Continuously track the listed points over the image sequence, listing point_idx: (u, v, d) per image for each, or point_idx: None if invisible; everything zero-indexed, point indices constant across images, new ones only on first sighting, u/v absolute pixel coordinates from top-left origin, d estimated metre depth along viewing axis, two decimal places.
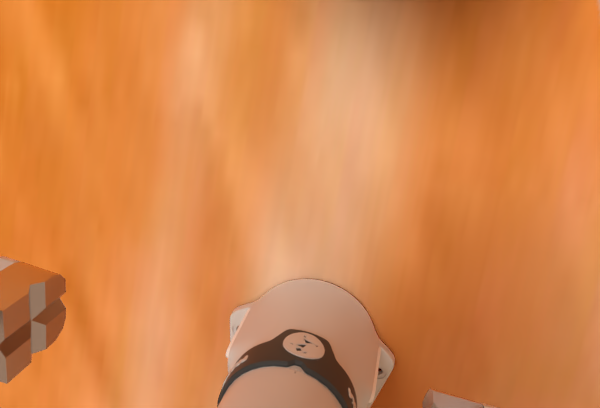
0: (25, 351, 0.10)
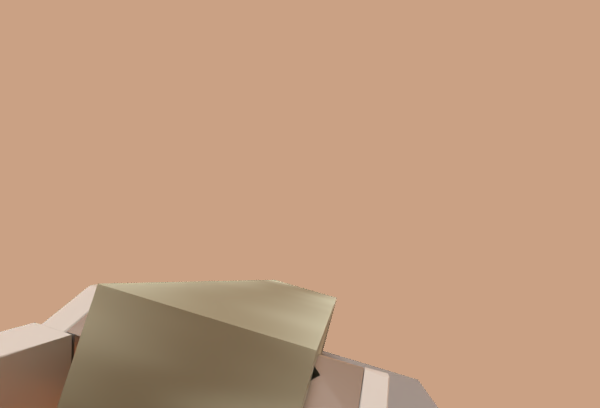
0: None
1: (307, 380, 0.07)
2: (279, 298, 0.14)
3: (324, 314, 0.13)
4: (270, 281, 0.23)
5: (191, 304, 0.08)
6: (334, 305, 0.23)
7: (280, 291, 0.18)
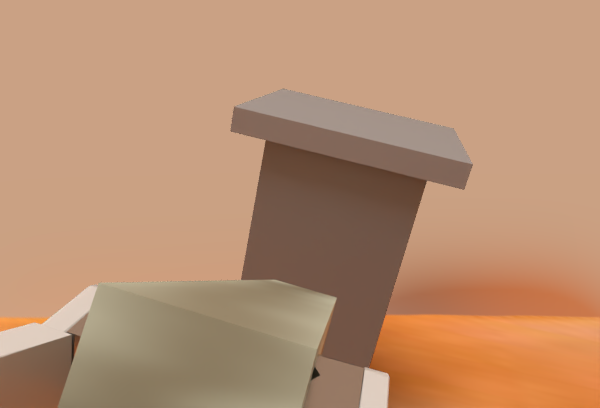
0: None
1: (307, 379, 0.07)
2: (279, 297, 0.14)
3: (324, 313, 0.13)
4: (270, 281, 0.23)
5: (192, 303, 0.08)
6: (334, 305, 0.23)
7: (280, 291, 0.18)
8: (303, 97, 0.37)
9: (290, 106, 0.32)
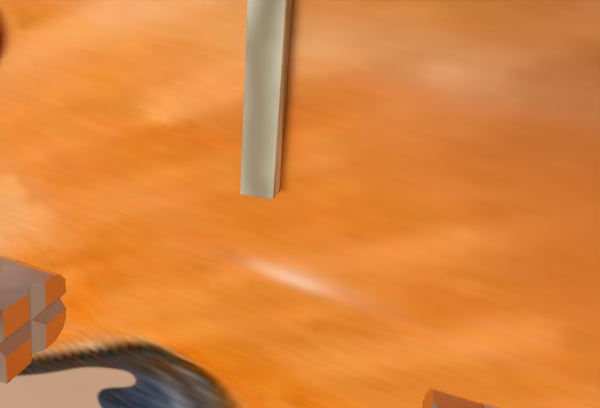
0: (24, 351, 0.10)
1: (273, 197, 0.49)
2: (261, 126, 0.47)
3: (275, 137, 0.47)
4: (249, 29, 0.44)
5: (252, 188, 0.49)
6: (284, 26, 0.43)
7: (259, 90, 0.45)
8: None
9: None
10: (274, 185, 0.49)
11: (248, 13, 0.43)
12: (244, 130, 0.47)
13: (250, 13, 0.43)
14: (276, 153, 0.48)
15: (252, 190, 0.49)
